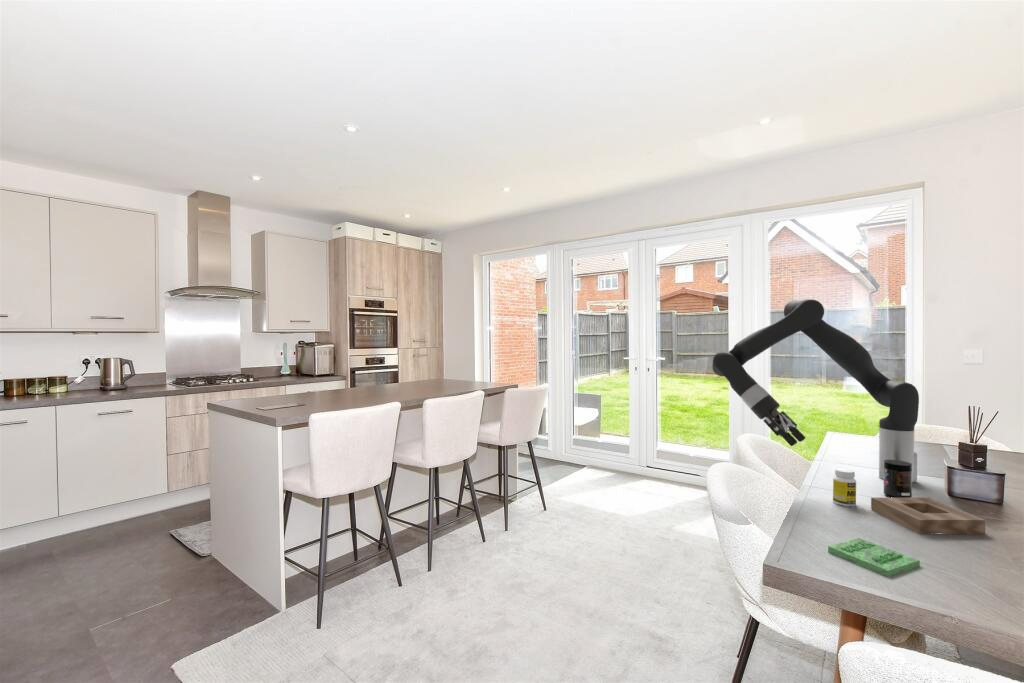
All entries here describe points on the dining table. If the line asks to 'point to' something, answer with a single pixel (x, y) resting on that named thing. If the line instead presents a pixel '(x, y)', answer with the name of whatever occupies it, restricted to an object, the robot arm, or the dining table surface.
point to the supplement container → (897, 479)
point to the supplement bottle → (844, 487)
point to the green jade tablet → (874, 557)
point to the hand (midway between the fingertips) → (799, 442)
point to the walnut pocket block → (928, 516)
